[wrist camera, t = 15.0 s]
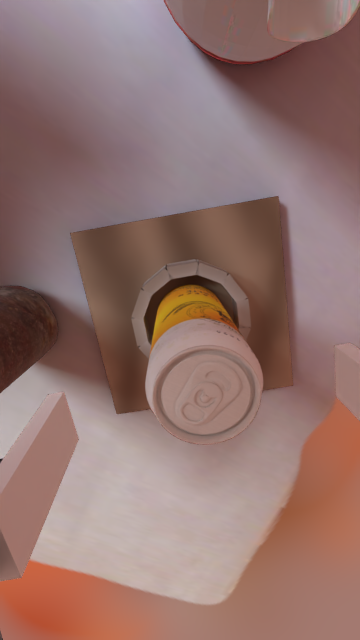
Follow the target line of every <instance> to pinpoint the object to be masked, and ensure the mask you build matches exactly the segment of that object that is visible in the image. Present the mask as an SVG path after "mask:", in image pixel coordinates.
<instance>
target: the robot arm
mask: <svg viewBox="0 0 360 640" xmlns="http://www.w3.org/2000/svg"><path fill="white" fill-rule="evenodd" d="M334 357H335V391H336V397H337V398H338V399H339V400H340V401H341V402H342V403H343V404H344V405H345V406H346V407H347V408H348V409H349V410H350V411H351V412H352V413H353V415H354V416H355V417H356V418H358V420H359V421H360V349H359V348H357V347H356V346H354V345H353V344H351V343H346V344H341V345H335V346H334ZM78 440H79V439H78V435H77V432H76V429H75V426H74V423H73V419H72V416H71V413H70V410H69V406H68V403H67V400H66V397H65V394H64V392H59V393H53V394H48V395H47V397H46V398H45V400H44V401H43V403H42V404H41V405H40V407H39V408H38V410H37V411H36V413H35V414H34V416H33V417H32V418H31V420H30V421H29V423H28V424H27V426H26V427H25V428H24V430H23V431H22V433H21V434H20V436H19V437H18V438H17V440H16V441H15V443H14V444H13V446H12V447H11V448H10V450H9V451H8V453H7V454H6V456H5V457H4V458H3V459H0V581H4V580H11V579H17V578H21V577H22V576H23V573H24V571H25V568H26V566H27V564H28V561H29V559H30V556H31V554H32V551H33V549H34V547H35V544H36V542H37V539H38V537H39V534H40V532H41V530H42V527H43V525H44V522H45V520H46V517H47V515H48V513H49V510H50V508H51V505H52V503H53V500H54V498H55V496H56V493H57V491H58V488H59V486H60V483H61V481H62V479H63V476H64V474H65V471H66V469H67V467H68V464H69V462H70V459H71V457H72V454H73V452H74V450H75V447H76V445H77V442H78ZM0 640H3V638H2V635H1V632H0Z"/></svg>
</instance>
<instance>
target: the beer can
mask: <svg viewBox="0 0 360 640" xmlns="http://www.w3.org/2000/svg"><path fill="white" fill-rule="evenodd" d="M145 390H146V397H147V401H148V403H149V406H150V408H151V409H152V411H153V413H154V414H155V416H156V417H157V419H158V421H159V422H160V423H161V425H162V426H163V427H164V428H165V429H166V430H167V431H168V432H169V433H170V434H172V435H173V436H175V437H177V438H178V439H180V440H183V441H186V442H189V443H193V444H202V445H207V444H216V443H220V442H224V441H226V440H229V439H231V438H233V437H235V436H237V435H238V434H240V433H241V432H242V431H243V430H245V429H246V428H247V427H248V426H249V424H250V423H251V422H252V420H253V419H254V418H255V416H256V414H257V412H258V409H259V406H260V402H261V395H262V390H263V374H262V370H261V366H260V364H259V361H258V360H257V358H256V356H255V354H254V353H253V351H252V350H251V348H250V347H249V345H248V344H247V342H246V341H245V339H244V338H243V336H242V334H241V333H240V331H239V330H238V328H237V327H236V325H235V324H234V322H233V321H232V319H231V318H230V316H229V314H228V313H227V311H226V310H225V308H224V307H223V305H222V304H221V302H220V301H219V299H218V298H217V296H216V295H215V294H214V293H213V292H211V291H210V290H208V289H207V288H205V287H202V286H199V285H192V284H191V285H182V286H179V287H176V288H174V289H173V290H171V291H170V292H168V293H167V294H166V295H165V296H164V298H163V299H162V300H161V302H160V304H159V306H158V310H157V315H156V321H155V327H154V333H153V339H152V345H151V351H150V356H149V362H148V368H147V374H146V381H145Z"/></svg>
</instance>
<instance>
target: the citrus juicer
mask: <svg viewBox="0 0 360 640" xmlns="http://www.w3.org/2000/svg"><path fill="white" fill-rule="evenodd" d="M164 3H165V4H166V6H167V8H168V10H169V12H170V14H171V15H172V17H173V19H174V21H175V23H176V24H177V25H178V26H179V27H180V29H181V30H182V31H183V32H184V34H185V35H186V36H187V37H188V39H189V40H190V41H191V42H192V43H194V44H195V45H196V46H197V47H198V48H200V49H201V50H202V51H203V52H205V53H206V54H208V55H210V56H212V57H214V58H216V59H218V60H221V61H224V62H228V63H232V64H254V63H259V62H263V61H268V60H272V59H274V58H277V57H279V56H281V55H283V54H285V53H287V52H289V51H291V50H292V49H293V48H295V47H296V46H298V45H300V44H302V43H303V42H310V41H315V40H319V39H322V38H325V37H328V36H330V35H332V34H334V33H336V32H338V31H340V30H341V29H342V28H344V27H345V26H346V25H347V24H348V23H349V22H350V21H351V19H352V18H353V17H354V15H355V14H356V12H357V10H358V9H359V7H360V0H164Z"/></svg>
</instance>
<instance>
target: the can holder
mask: <svg viewBox="0 0 360 640" xmlns="http://www.w3.org/2000/svg"><path fill="white" fill-rule="evenodd" d="M70 235H71V239H72V243H73V246H74V250H75V254H76V258H77V262H78V266H79V270H80V274H81V278H82V281H83V285H84V289H85V293H86V297H87V301H88V305H89V309H90V312H91V316H92V320H93V324H94V328H95V332H96V336H97V340H98V343H99V347H100V351H101V355H102V359H103V363H104V367H105V371H106V375H107V378H108V382H109V386H110V390H111V394H112V398H113V402H114V406H115V409H116V413H117V414H121V413H127V412H134V411H140V410H146V409H151V408H150V406H149V403H148V401H147V397H146V390H145V381H146V374H147V368H148V362H149V356H150V351H151V345H152V339H153V333H154V327H155V321H156V315H157V310H158V306H159V304H160V302H161V300H162V299H163V298H164V296H165V295H166V294H167V293H168V292H170V291H171V290H173V289H174V288H176V287H179V286H182V285H191V284H192V285H199V286H202V287H205V288H207V289H208V290H210V291H211V292H213V293H214V294H215V295H216V296H217V298H218V299H219V301H220V302H221V304H222V305H223V307H224V308H225V310H226V311H227V313H228V314H229V316H230V318H231V319H232V321H233V322H234V324H235V325H236V327H237V328H238V330H239V331H240V333H241V334H242V336H243V338H244V339H245V341H246V342H247V344H248V345H249V347H250V348H251V350H252V351H253V353H254V354H255V356H256V358H257V360H258V361H259V364H260V366H261V370H262V374H263V390H268V389H274V388H280V387H287V386H293V377H292V364H291V351H290V338H289V325H288V312H287V299H286V286H285V273H284V260H283V247H282V234H281V221H280V208H279V196H276V197H270V198H264V199H259V200H253V201H248V202H242V203H236V204H231V205H225V206H219V207H214V208H208V209H203V210H197V211H191V212H186V213H180V214H174V215H169V216H163V217H158V218H152V219H146V220H141V221H135V222H129V223H124V224H118V225H112V226H107V227H101V228H96V229H90V230H84V231H79V232H73V233H70Z"/></svg>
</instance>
